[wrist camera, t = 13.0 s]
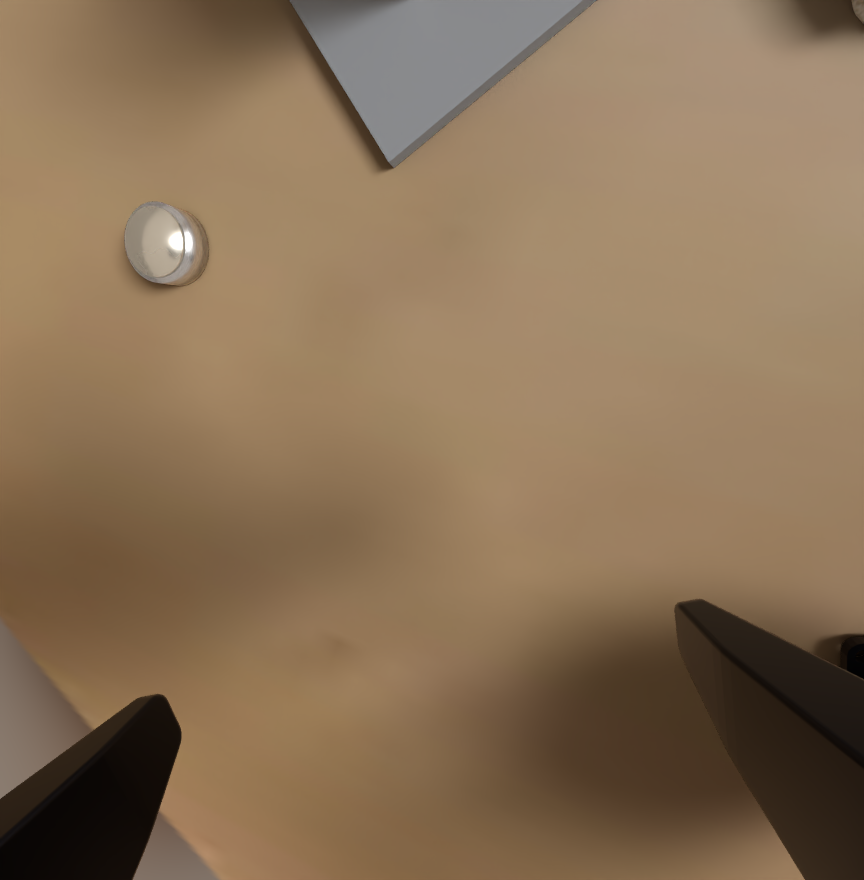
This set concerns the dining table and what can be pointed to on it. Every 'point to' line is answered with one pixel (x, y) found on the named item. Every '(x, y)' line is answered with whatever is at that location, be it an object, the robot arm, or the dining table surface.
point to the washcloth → (858, 9)
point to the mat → (426, 56)
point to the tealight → (166, 244)
